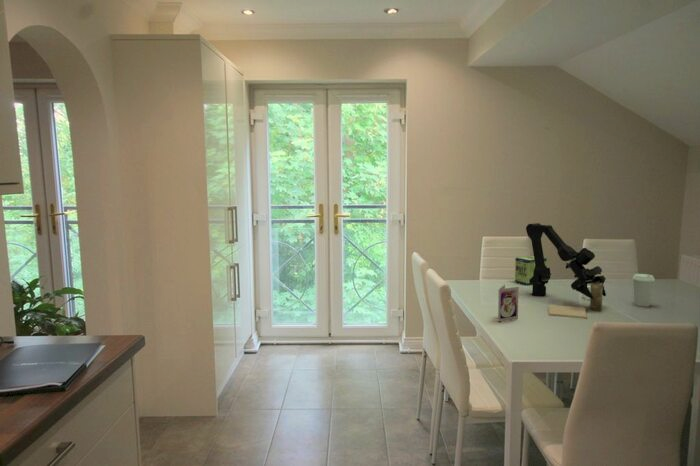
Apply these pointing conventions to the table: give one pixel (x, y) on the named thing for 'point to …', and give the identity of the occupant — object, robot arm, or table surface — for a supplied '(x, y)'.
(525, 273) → the protein box
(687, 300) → the table surface
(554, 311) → the beige square board
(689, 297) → the table surface
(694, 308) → the table surface
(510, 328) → the table surface
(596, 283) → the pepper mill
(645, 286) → the coffee cup
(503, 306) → the greeting card
